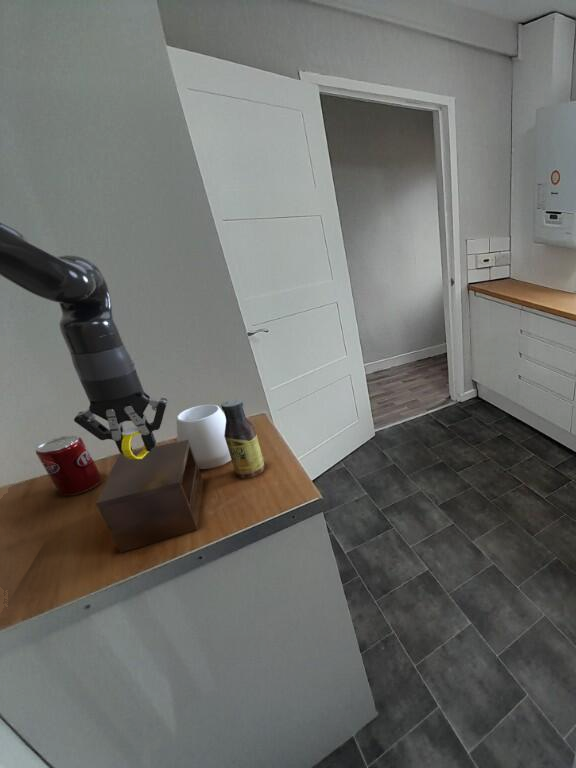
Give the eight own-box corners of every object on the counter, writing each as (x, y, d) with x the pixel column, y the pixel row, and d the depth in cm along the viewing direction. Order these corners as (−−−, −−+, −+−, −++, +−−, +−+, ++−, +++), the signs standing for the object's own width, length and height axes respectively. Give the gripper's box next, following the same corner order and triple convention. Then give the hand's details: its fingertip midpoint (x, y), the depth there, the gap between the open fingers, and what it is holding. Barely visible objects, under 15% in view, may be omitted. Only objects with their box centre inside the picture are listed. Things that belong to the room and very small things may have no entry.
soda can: (61, 501, 91) (34, 457, 85) (59, 486, 95) (33, 443, 90) (104, 486, 95) (82, 443, 90) (101, 472, 100) (79, 431, 95)
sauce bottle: (231, 476, 100) (206, 405, 91) (254, 462, 105) (232, 393, 97) (250, 483, 98) (226, 410, 89) (272, 468, 103) (252, 398, 95)
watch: (144, 447, 84) (134, 422, 82) (159, 446, 84) (149, 421, 82) (124, 465, 79) (111, 438, 76) (140, 464, 79) (128, 438, 77)
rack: (120, 553, 78) (95, 503, 73) (138, 499, 92) (118, 454, 87) (197, 530, 83) (179, 482, 79) (203, 482, 97) (188, 439, 93)
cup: (174, 462, 105) (155, 415, 99) (231, 439, 115) (216, 395, 109) (196, 482, 98) (177, 432, 92) (255, 455, 108) (240, 409, 102)
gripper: (45, 386, 68) (87, 471, 75) (152, 371, 75) (181, 450, 82) (61, 371, 74) (98, 452, 81) (159, 358, 80) (185, 434, 87)
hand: (140, 451), depth 81 cm, fingers closed on watch, 2 cm apart
